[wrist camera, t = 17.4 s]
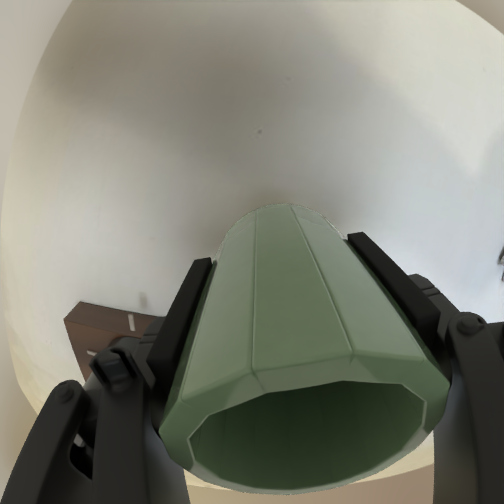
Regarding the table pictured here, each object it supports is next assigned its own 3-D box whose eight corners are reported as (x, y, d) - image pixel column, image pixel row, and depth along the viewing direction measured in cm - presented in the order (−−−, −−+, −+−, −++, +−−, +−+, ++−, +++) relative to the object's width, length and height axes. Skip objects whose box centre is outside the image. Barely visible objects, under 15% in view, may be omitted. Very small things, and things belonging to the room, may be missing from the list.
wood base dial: (75, 280, 21) (56, 298, 18) (232, 304, 21) (228, 329, 18) (116, 415, 28) (109, 433, 25) (222, 436, 29) (220, 457, 26)
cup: (201, 217, 12) (100, 372, 4) (342, 193, 11) (488, 309, 3) (231, 329, 14) (210, 497, 6) (348, 310, 14) (412, 466, 5)
